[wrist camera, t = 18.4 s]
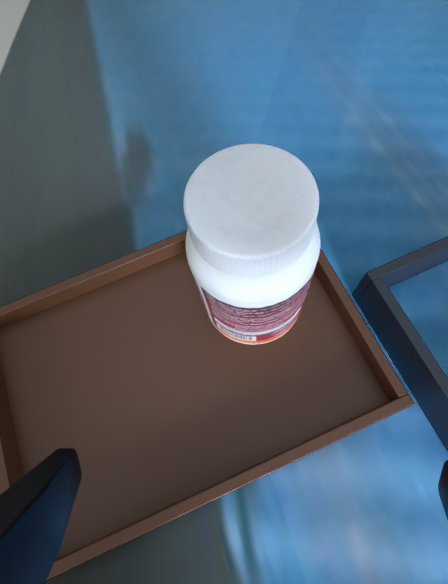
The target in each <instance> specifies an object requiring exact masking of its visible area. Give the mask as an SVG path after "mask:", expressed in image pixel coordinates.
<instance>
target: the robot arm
mask: <svg viewBox="0 0 448 584" xmlns="http://www.w3.org/2000/svg"><path fill="white" fill-rule="evenodd" d="M81 478H82V471H81V467H80V463H79V459H78V455H77V452H76V450H75V449H73V448H59V449H57V450H55V451H54V452H53V453H52V454H50V455H49V456H48V457H47V458H45V459H44V460H43V461H42V462H40V463H39V464H38V465H37V466H35V467H34V468H33V469H32V470H30V471H29V472H28V473H27V474H25V475H24V476H23V477H22V478H20V479H19V480H18V481H17V482H15V483H14V484H13V485H12V486H10V487H9V488H8V489H7V490H5V491H4V492H3V493H2V494H0V584H45V583H46V580H47V578H48V576H49V573H50V571H51V568H52V566H53V564H54V561H55V559H56V556H57V554H58V551H59V549H60V546H61V543H62V540H63V537H64V534H65V531H66V528H67V525H68V521H69V518H70V515H71V512H72V508H73V505H74V502H75V499H76V495H77V492H78V489H79V486H80V482H81ZM438 490H439V495H440V498H441V501H442V504H443V507H444V510H445V513H446V516H447V520H448V460H447V461H445V463H444V465H443V469H442V473H441V476H440V480H439V484H438Z"/></svg>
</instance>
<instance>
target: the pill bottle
mask: <svg viewBox="0 0 448 584" xmlns="http://www.w3.org/2000/svg"><path fill="white" fill-rule="evenodd" d="M183 208H184V215H185V219H186V223H187V226H188V229H187V234H186V243H185V245H186V255H187V260H188V264H189V266H190V269H191V272H192V274H193V277H194V280H195V282H196V285H197V287H198V290H199V292H200V295H201V298H202V301H203V303H204V306H205V309H206V312H207V314H208V316H209V318H210V320H211V322H212V323H213V325H214V326H215V327H216V328H217V329H218V330H219V331H220V332H221V333H222V334H223V335H224V336H226V337H227V338H229V339H231V340H233V341H236V342H239V343H243V344H251V345H255V344H264V343H268V342H271V341H273V340H276V339H277V338H279V337H281V336H282V335H284V334H285V333H286V332H287V331H289V330H290V328H291V327H292V326H293V325H294V323H295V322H296V320H297V318H298V316H299V314H300V311H301V308H302V305H303V302H304V300H305V297H306V294H307V291H308V289H309V285H310V282H311V279H312V276H313V273H314V270H315V267H316V264H317V261H318V257H319V253H320V232H319V228H318V224H317V222H316V219H317V215H318V210H319V191H318V187H317V184H316V181H315V179H314V177H313V175H312V174H311V172H310V170H309V169H308V168H307V167H306V166H305V164H304V163H303V162H302V161H301V160H299V159H298V158H297V157H295V156H294V155H292V154H290V153H289V152H287V151H285V150H283V149H280V148H277V147H274V146H270V145H264V144H241V145H236V146H232V147H228V148H226V149H223V150H221V151H218V152H217V153H215V154H213V155H211V156H210V157H208V158H207V159H206V160H204V161H203V162H202V163H201V164H200V165H199V166H198V167H197V168H196V170H195V171H194V172H193V174H192V175H191V177H190V179H189V181H188V183H187V185H186V189H185V192H184V199H183Z"/></svg>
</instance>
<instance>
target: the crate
mask: <svg viewBox="0 0 448 584" xmlns="http://www.w3.org/2000/svg"><path fill="white" fill-rule="evenodd" d="M446 261H448V237H446V238H443V239H441V240H439V241H436V242H434V243H432V244H430V245H427V246H425V247H423V248H421V249H418V250H416V251H414V252H411V253H409V254H407V255H405V256H402V257H400V258H398V259H396V260H393V261H391V262H389V263H387V264H384V265H382V266H380V267H377V268H375V269H373V270H371V271H368V272H367V273H366V274H365V276H364V277H363V279H362V280H361V282H360V283H359V285H358V286H357V288H356V289H355V290H354V292H353V293H352V295H353V296H354V298H355V300H356V301H357V303H358V305H359V306H360V308H361V310H362V311H363V313H364V314H365V316H366V318H367V319H368V321H369V323H370V324H371V326H372V328H373V329H374V331H375V333H376V334H377V336H378V337H379V339H380V341H381V342H382V344H383V346H384V347H385V349H386V351H387V352H388V354H389V356H390V357H391V359H392V360H393V362H394V364H395V365H396V367H397V369H398V370H399V372H400V374H401V375H402V377H403V379H404V380H405V382H406V383H407V385H408V387H409V388H410V390H411V392H412V393H413V395H414V397H415V398H416V400H417V402H418V403H419V405H420V406H421V408H422V410H423V411H424V413H425V415H426V416H427V418H428V420H429V421H430V423H431V425H432V426H433V428H434V429H435V431H436V433H437V434H438V436H439V438H440V439H441V441H442V443H443V444H444V446H445V448H446V449H447V451H448V378H447V377H446V375H445V374H444V372H443V371H442V369H441V368H440V366H439V365H438V363H437V362H436V360H435V358H434V357H433V355H432V354H431V352H430V351H429V349H428V348H427V346H426V345H425V343H424V342H423V340H422V339H421V337H420V336H419V334H418V332H417V331H416V329H415V328H414V326H413V325H412V323H411V322H410V320H409V319H408V317H407V316H406V314H405V313H404V311H403V310H402V308H401V306H400V305H399V303H398V302H397V300H396V299H395V297H394V296H393V294H392V293H391V291H390V290H389V288H388V287H390V286H392V285H395V284H397V283H399V282H401V281H404V280H406V279H408V278H410V277H413V276H415V275H417V274H419V273H422V272H424V271H426V270H428V269H430V268H433V267H435V266H437V265H439V264H442V263H444V262H446Z"/></svg>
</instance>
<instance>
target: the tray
mask: <svg viewBox="0 0 448 584" xmlns="http://www.w3.org/2000/svg"><path fill="white" fill-rule="evenodd" d="M186 234H187V230H186V231H184V232H181V233H179V234H176V235H174V236H172V237H169V238H167V239H164V240H162V241H159V242H157V243H155V244H152V245H150V246H147V247H145V248H142V249H140V250H138V251H135V252H133V253H130V254H128V255H125V256H123V257H121V258H118V259H116V260H113V261H111V262H108V263H106V264H104V265H101V266H99V267H96V268H94V269H91V270H89V271H87V272H84V273H82V274H79V275H77V276H74V277H72V278H70V279H67V280H65V281H62V282H60V283H57V284H55V285H53V286H50V287H48V288H45V289H43V290H40V291H38V292H36V293H33V294H31V295H28V296H26V297H23V298H21V299H19V300H16V301H14V302H11V303H9V304H6V305H4V306H2V307H0V494H2V493H3V492H4V491H5V490H7V489H8V488H9V487H10V486H12V485H13V484H14V483H15V482H17V481H18V480H19V479H20V478H22V477H23V476H24V475H25V474H27V473H28V472H29V471H30V470H32V469H33V468H34V467H35V466H37V465H38V464H39V463H40V462H42V461H43V460H44V459H45V458H47V457H48V456H49V455H50V454H52V453H53V452H54V451H55V450H57V449H59V448H73V449H75V450H76V452H77V455H78V459H79V463H80V467H81V471H82V478H81V482H80V486H79V489H78V492H77V495H76V499H75V502H74V505H73V508H72V512H71V515H70V518H69V521H68V525H67V528H66V531H65V534H64V537H63V540H62V543H61V546H60V549H59V551H58V554H57V556H56V559H55V561H54V564H53V566H52V568H51V571H50V573H49V576H48V578H47V580H48V579H50V578H53V577H55V576H57V575H59V574H61V573H63V572H65V571H67V570H69V569H71V568H73V567H75V566H78V565H80V564H82V563H84V562H86V561H88V560H90V559H92V558H94V557H96V556H98V555H101V554H103V553H105V552H107V551H109V550H111V549H113V548H115V547H117V546H119V545H121V544H124V543H126V542H128V541H130V540H132V539H134V538H136V537H138V536H140V535H142V534H144V533H146V532H149V531H151V530H153V529H155V528H157V527H159V526H161V525H163V524H165V523H167V522H169V521H172V520H174V519H176V518H178V517H180V516H182V515H184V514H186V513H188V512H190V511H192V510H194V509H197V508H199V507H201V506H203V505H205V504H207V503H209V502H211V501H213V500H215V499H217V498H220V497H222V496H224V495H226V494H228V493H230V492H232V491H234V490H236V489H238V488H240V487H243V486H245V485H247V484H249V483H251V482H253V481H255V480H257V479H259V478H261V477H263V476H265V475H268V474H270V473H272V472H274V471H276V470H278V469H280V468H282V467H284V466H286V465H288V464H291V463H293V462H295V461H297V460H299V459H301V458H303V457H305V456H307V455H309V454H311V453H314V452H316V451H318V450H320V449H322V448H324V447H326V446H328V445H330V444H332V443H334V442H336V441H339V440H341V439H343V438H345V437H347V436H349V435H351V434H353V433H355V432H357V431H359V430H362V429H364V428H366V427H368V426H370V425H372V424H374V423H376V422H378V421H380V420H382V419H384V418H387V417H389V416H391V415H393V414H395V413H397V412H399V411H401V410H403V409H405V408H407V407H410V406H412V405H414V402H413V400H412V399H411V397H410V395H409V394H408V392H407V390H406V389H405V387H404V385H403V384H402V382H401V380H400V379H399V377H398V375H397V374H396V372H395V370H394V369H393V367H392V366H391V364H390V362H389V361H388V359H387V357H386V356H385V354H384V352H383V351H382V349H381V347H380V346H379V344H378V342H377V341H376V339H375V337H374V336H373V334H372V332H371V331H370V329H369V327H368V326H367V324H366V323H365V321H364V319H363V318H362V316H361V314H360V313H359V311H358V309H357V308H356V306H355V304H354V303H353V301H352V299H351V298H350V296H349V294H348V293H347V291H346V289H345V288H344V286H343V284H342V283H341V281H340V280H339V278H338V276H337V275H336V273H335V271H334V270H333V268H332V266H331V265H330V263H329V261H328V260H327V258H326V256H325V255H324V253H323V251H322V250H321V248H320V253H319V257H318V261H317V264H316V267H315V270H314V273H313V276H312V279H311V282H310V285H309V289H308V291H307V294H306V297H305V300H304V302H303V305H302V308H301V311H300V314H299V316H298V318H297V320H296V322H295V323H294V325H293V326H292V327H291V328H290V330H289V331H287V332H286V333H285V334H284V335H282V336H281V337H279V338H277V339H276V340H273V341H271V342H268V343H264V344H255V345H251V344H243V343H239V342H236V341H233V340H231V339H229V338H227V337H226V336H224V335H223V334H222V333H221V332H220V331H219V330H218V329H217V328H216V327H215V326H214V325H213V323H212V322H211V320H210V318H209V316H208V314H207V312H206V309H205V306H204V303H203V301H202V298H201V295H200V292H199V290H198V287H197V285H196V282H195V280H194V277H193V274H192V272H191V269H190V266H189V264H188V260H187V255H186V245H185V243H186Z"/></svg>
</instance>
